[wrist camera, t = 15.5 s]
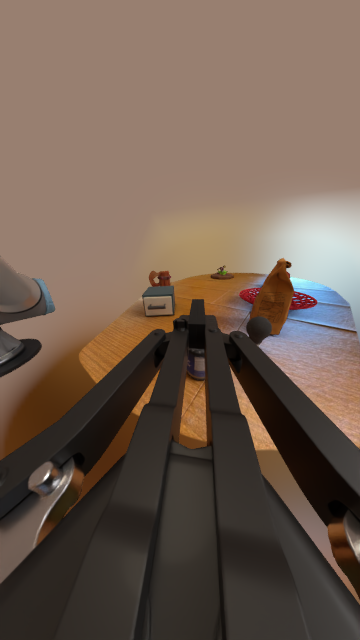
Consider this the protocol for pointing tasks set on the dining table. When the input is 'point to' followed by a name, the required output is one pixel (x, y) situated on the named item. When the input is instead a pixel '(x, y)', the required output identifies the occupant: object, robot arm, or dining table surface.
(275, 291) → the coffee package
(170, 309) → the drawer
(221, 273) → the plant
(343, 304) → the dining table surface
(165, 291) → the cabinet
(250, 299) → the bowl
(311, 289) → the dining table surface
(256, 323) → the light bulb
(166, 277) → the mug
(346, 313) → the dining table surface
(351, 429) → the dining table surface
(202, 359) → the pill bottle
